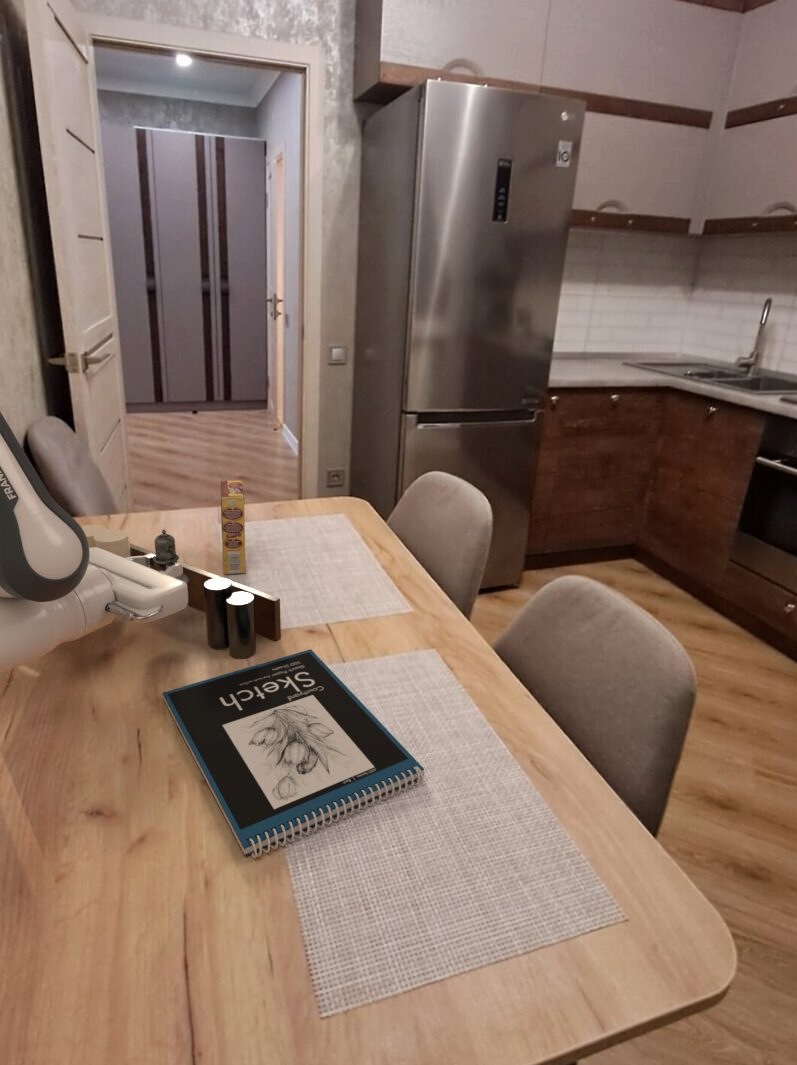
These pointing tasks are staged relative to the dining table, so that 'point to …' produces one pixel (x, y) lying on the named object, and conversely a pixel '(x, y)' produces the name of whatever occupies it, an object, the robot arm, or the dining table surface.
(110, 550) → the cream shakers
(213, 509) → the dining table surface
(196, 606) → the brown wooden board
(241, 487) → the candy box
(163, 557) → the dark grey upright piece
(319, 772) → the sketchbook
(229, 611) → the dark metal shakers
